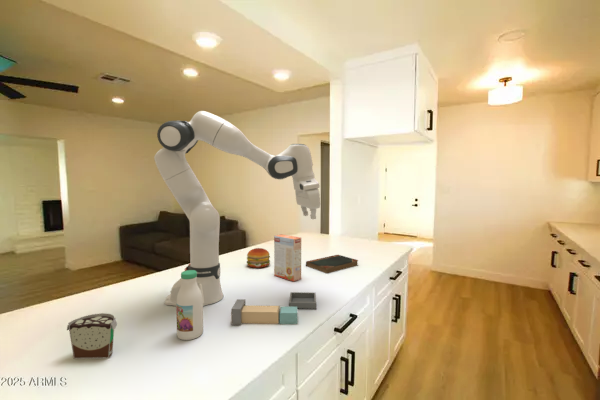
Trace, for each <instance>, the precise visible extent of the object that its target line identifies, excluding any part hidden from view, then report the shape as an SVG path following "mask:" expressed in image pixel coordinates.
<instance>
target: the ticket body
mask: <svg viewBox="0 0 600 400" xmlns="http://www.w3.org/2000/svg"><path fill="white" fill-rule="evenodd" d="M280 307H281V305H246V299H243V298H240V299H239V298H238V299H236V300H235V301H234V304H233V306H232V307H231V311H230V314H231V315H230V316H231V317H230V320H231V326H241V325H242V324H260V325H261V324H267V325H269V324H271V325H273V324H276V325H278V324H280Z"/></svg>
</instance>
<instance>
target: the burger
mask: <svg viewBox="0 0 600 400" xmlns="http://www.w3.org/2000/svg"><path fill="white" fill-rule="evenodd" d="M270 258H271V256H270V252H269V251H268V249H265V248H261V247H257V248H253V249H251V250H249V251H248V252H247V254H246V260H247V261H246V264H247V266H248V267H250V268H256V269H257V268H258V269H260V268H261V269H262V268H265V267H267V266H269V265H270V264H271V260H270Z"/></svg>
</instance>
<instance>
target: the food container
mask: <svg viewBox="0 0 600 400" xmlns="http://www.w3.org/2000/svg"><path fill="white" fill-rule="evenodd" d="M117 326H118V323H117V320H116V317H115V316H114V315H113V314H111V313H107V312H106V313H103V312H102V313H101V312H100V313H94V314H87V315H85V316H81V317H78V318H75V319H73V320H71V321H69V322H68V324H67V326H66V331H68V332H69V337H70V338H69V339H70V343H71V344H70V345H71V349H72V350H71V351H72V356H73V359H75V360H78V359H80V360H82V359H84V360H85V359H87V360H88V359H89V360H90V359H111V356H112V355H113V349H114V348H113V347H114V333H115V329H116V327H117Z"/></svg>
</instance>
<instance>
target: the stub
mask: <svg viewBox="0 0 600 400" xmlns="http://www.w3.org/2000/svg"><path fill="white" fill-rule="evenodd" d="M279 325H298V309H297V307H289V306H280V318H279Z"/></svg>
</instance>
